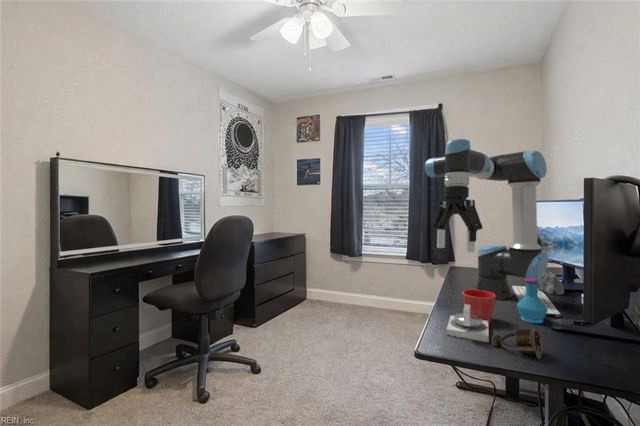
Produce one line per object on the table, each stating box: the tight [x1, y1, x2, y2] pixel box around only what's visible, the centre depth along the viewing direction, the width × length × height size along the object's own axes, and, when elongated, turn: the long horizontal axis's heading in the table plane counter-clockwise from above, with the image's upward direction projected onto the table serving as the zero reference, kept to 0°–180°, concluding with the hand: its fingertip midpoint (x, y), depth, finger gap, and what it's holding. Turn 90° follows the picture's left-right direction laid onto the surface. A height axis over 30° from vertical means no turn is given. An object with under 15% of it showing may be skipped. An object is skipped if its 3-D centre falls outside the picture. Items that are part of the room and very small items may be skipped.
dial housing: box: [446, 315, 490, 343], centre depth 102 cm, size 14×12×2 cm
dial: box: [453, 303, 482, 328], centre depth 100 cm, size 12×8×7 cm
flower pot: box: [461, 289, 496, 323], centre depth 111 cm, size 11×11×10 cm
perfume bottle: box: [516, 278, 548, 324], centre depth 110 cm, size 9×9×15 cm
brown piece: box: [490, 328, 544, 360], centre depth 87 cm, size 7×13×10 cm
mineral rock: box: [537, 271, 565, 296], centre depth 146 cm, size 13×11×10 cm
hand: (454, 249), depth 101 cm, fingers open, 13 cm apart
